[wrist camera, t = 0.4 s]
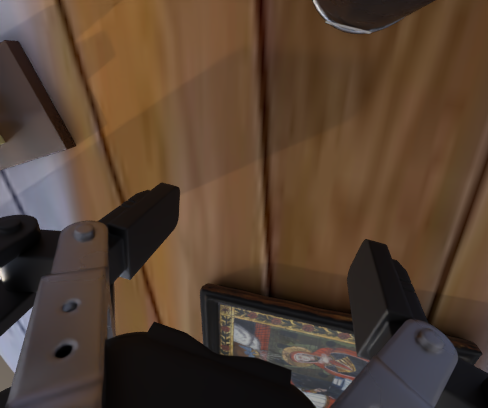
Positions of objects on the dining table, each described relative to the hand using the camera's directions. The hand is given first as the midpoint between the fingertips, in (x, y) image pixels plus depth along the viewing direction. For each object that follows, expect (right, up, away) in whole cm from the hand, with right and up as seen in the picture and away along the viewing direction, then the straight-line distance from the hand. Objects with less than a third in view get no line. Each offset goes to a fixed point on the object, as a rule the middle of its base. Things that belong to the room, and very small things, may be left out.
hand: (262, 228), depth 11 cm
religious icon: (+10, -26, +32) cm, 42 cm away
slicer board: (-34, +12, +24) cm, 43 cm away
